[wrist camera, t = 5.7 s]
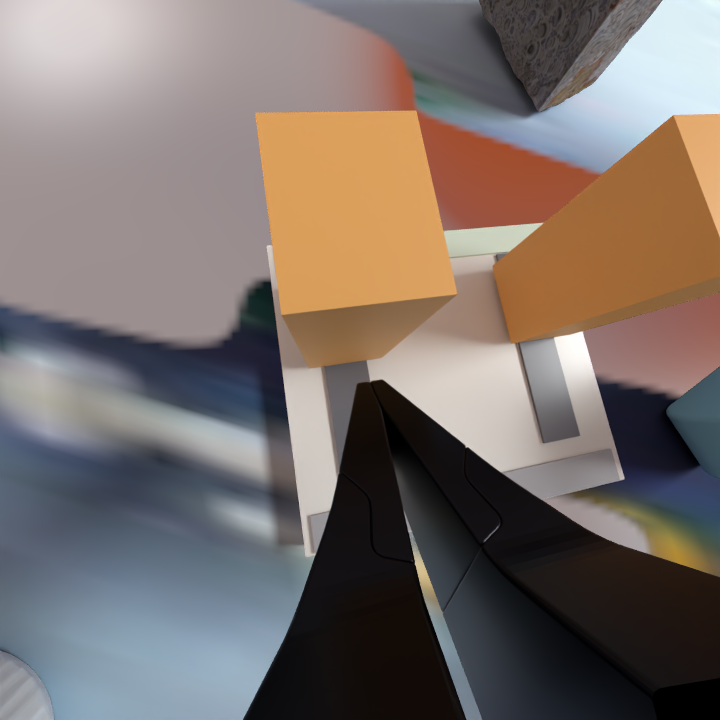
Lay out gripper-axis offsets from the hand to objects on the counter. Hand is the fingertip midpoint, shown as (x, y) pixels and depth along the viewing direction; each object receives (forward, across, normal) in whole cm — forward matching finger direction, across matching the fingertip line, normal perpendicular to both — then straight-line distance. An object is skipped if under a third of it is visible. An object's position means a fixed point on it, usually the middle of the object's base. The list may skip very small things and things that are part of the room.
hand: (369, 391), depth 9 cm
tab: (+7, -12, +1) cm, 14 cm away
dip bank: (+6, -6, +5) cm, 10 cm away
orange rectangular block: (+7, 0, +1) cm, 7 cm away
